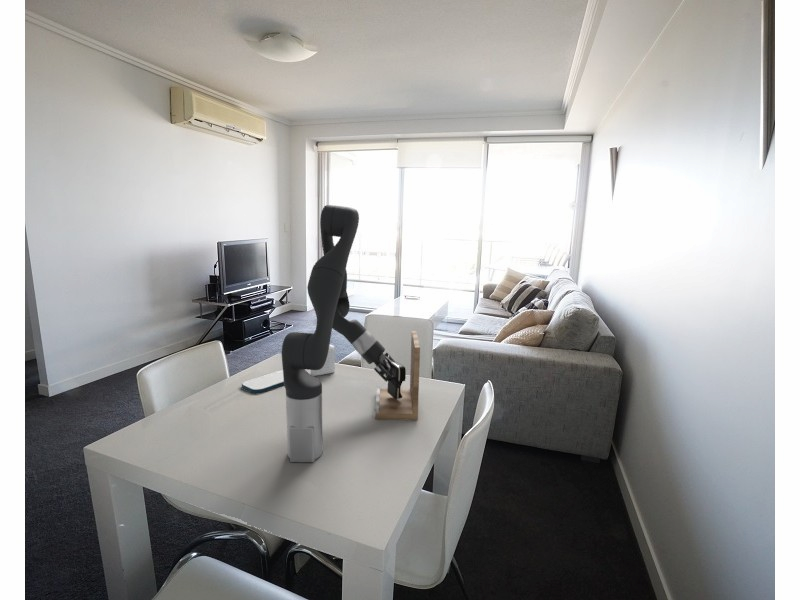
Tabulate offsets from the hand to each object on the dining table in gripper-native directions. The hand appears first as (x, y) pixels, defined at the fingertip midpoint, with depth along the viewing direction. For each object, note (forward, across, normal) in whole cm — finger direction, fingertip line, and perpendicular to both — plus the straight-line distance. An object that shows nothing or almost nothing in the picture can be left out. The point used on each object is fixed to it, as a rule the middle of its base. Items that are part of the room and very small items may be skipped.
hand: (401, 382), depth 140 cm
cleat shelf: (+4, -1, +7) cm, 9 cm away
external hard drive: (-30, +11, +42) cm, 53 cm away
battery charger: (+2, 0, +5) cm, 5 cm away
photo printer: (-19, +23, +32) cm, 44 cm away
